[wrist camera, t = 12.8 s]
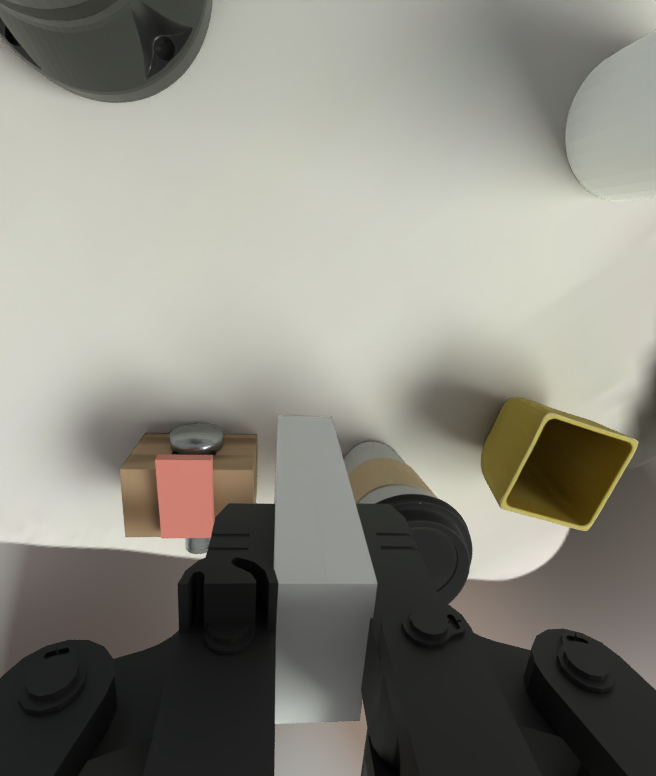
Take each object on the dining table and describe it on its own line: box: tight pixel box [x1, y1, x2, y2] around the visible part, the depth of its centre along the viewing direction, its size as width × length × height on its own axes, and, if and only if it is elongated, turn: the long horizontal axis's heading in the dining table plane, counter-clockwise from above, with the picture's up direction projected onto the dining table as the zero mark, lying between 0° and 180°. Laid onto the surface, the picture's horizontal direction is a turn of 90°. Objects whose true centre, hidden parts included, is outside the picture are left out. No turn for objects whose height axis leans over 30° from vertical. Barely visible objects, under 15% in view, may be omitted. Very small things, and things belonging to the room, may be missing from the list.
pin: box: [170, 423, 223, 554], centre depth 41 cm, size 11×4×4 cm, turn 177°
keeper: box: [155, 454, 215, 538], centre depth 36 cm, size 7×4×1 cm, turn 177°
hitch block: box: [120, 433, 257, 537], centre depth 40 cm, size 6×10×7 cm, turn 87°
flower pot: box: [481, 397, 638, 531], centre depth 41 cm, size 9×9×9 cm
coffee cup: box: [344, 441, 472, 604], centre depth 38 cm, size 9×9×15 cm
